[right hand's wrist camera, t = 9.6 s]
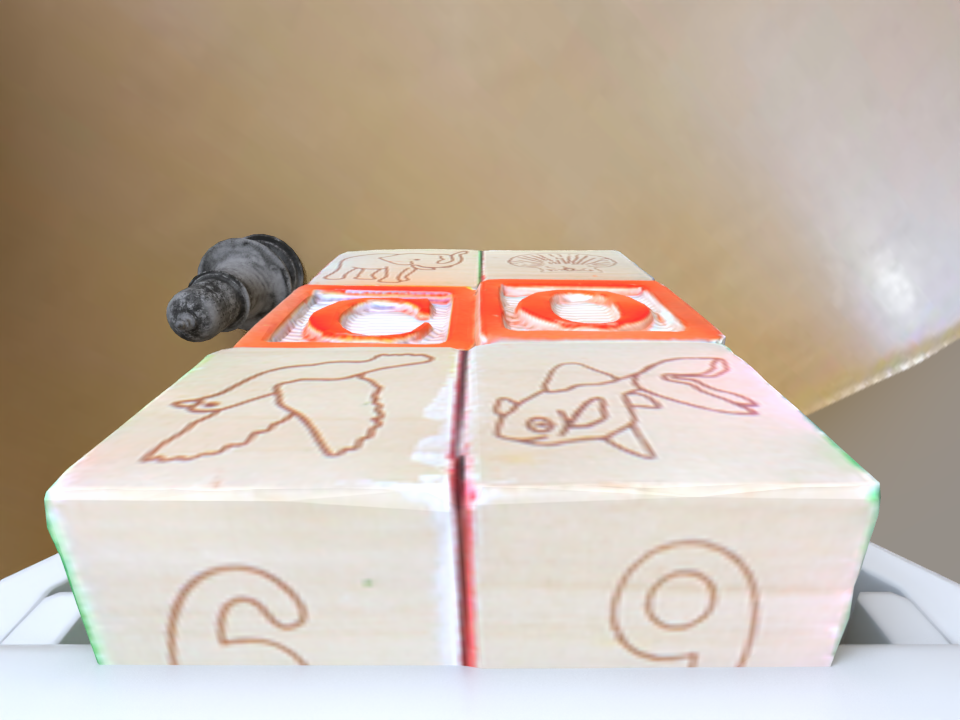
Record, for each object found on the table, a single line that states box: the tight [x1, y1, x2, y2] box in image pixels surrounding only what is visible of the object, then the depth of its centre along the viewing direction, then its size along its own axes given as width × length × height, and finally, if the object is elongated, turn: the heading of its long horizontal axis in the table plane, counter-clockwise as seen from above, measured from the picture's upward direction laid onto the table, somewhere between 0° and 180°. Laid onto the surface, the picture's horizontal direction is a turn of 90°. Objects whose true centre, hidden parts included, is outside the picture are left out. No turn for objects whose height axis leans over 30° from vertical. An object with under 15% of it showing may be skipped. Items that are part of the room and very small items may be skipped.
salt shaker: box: [167, 234, 304, 342], centre depth 34 cm, size 6×6×12 cm
